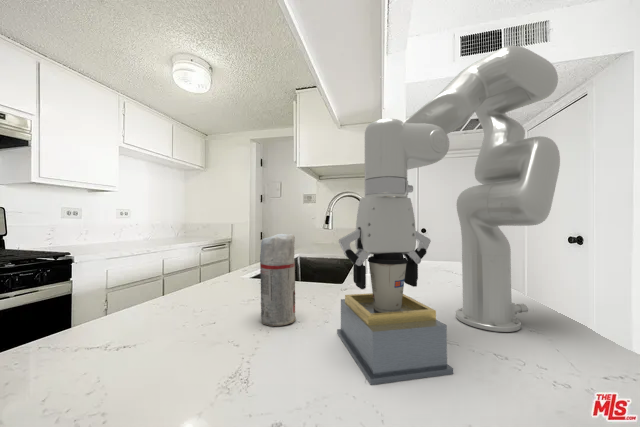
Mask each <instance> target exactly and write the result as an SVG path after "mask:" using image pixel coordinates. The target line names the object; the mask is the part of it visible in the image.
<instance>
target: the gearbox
mask: <svg viewBox="0 0 640 427" xmlns="http://www.w3.org/2000/svg"><path fill="white" fill-rule="evenodd" d="M447 330H448V329H447V324H445V323H443V322H441V321H440V320H438V319H437V310H435V309H434V308H432V307H429V306H428V305H425V303H422V302H420V301H418V300H416V299H414V298H412V297H410V296H408V295H406V294H404V293H403V297H402V305H401V311H399V312H385V313H382V312H378V311H376V310H375V308H374V300H373V292H371V293H356V294H355V293H353V294H344V298H343V299H340V328H339V329H336V333H337V335H338V337H339V338H340V340H341V341H342V343H343V345H344V346H345V348H346V349H347V351H348V352H349V354H350V356H351V357H352V359H353V360H354V362H355V363H356V364H357V366H358V368H359V369H360V371H361V372H362V374H363V376H364V377H365V378H366V380H367V382H369V384H370V386H375V385H381V384H389V383H396V382H405V381H411V380H419V379H425V378H426V379H427V378H434V377H440V376H441V377H442V376H448V375H453V374H454V368H453V367H452V366H451V365H449V363H448V357H447V356H448V348H447V347H448V346H447V345H448V342H447V341H448V340H447V339H448V338H447V337H448V336H447V335H448V334H447V332H448V331H447Z"/></svg>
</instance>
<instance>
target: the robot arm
mask: <svg viewBox="0 0 640 427" xmlns="http://www.w3.org/2000/svg"><path fill="white" fill-rule="evenodd" d="M558 76H559V75H558V71H557V69H556V67H555V66H554V64H552V63H551V62H550V61H549V60H548V59H547V58H544V57H543V56H541V55H540V54H537V53H535V52H534V51H532V50H530V49H528V48H525V47H522V46H519V45H505V46H503V47H501V48H499V49H497V50H495V51H494V52H492V53H490V54H488V55H487V56H484V57H483V58H481V59H479V60H477V61H476V62H474V63H472V64H469V65H468V66H467V67H465V68H464V69H462V71H460V72H459V73H458V74H457V75H456V76H455V77H454V78H453V79H452V80H451V81H450V82H449V83H448V84H447V85H446V86H445V87H444V88H443V89H442V90H441V91H440V92H439V93H438V94H437V95H436V96H434V98H432V99H431V100H429V101H428V102H427V103H425V104H424V105H423V106H421V107H420V108H419V109H418V110H417V111H415V112H414V113H412V115H410V116H409V117H407V118H406V119H405V120H403V121H402V120H400V119H398V118H380V119H376V120H373V121H372V122H370V123H369V124H368V125H367V126H366V128H365V130H364V197H361V198H359V202H358V208H357V214H356V221H355V230H354V231H352V232H350V233H348V234H347V235H344V236H343V237H340V239H339V240H338V244H339V246H340V248H341V250H342V251H343V254H344V255H345V256H346V258H347V259H348V260H349V261H350V262H351V263H352V264H353V266H352V269H353V276H352V277H353V283H354V284H355V286H356V287H357V288H359V289H360V290H365V289H366V286H367V273H366V272H367V271H366V270H367V268H366V265H364V263H365V261H366V259H367V258H369V257H370V256H371V255H373V254H403V257H404V258H406V259H407V262H408V263H406V271H405V280H404V284H406V285H409V286H411V287H413V288H414V287H415V288H416V287H418V280H419V264H421V262H422V260H423V258H424V257H425V256H426V254H427V250H428V248H429V246H430V244H431V238H429V237H427V236H425V235H424V234H422V233H420V232H419V231H417V230H416V221H415V220H416V219H415V213H414V207H413V203H412V199H411V198H410V197H409V193H413V192H414V186H413V185H412V184H411V185H410V184H409V181H408V171H409V170H412V169H418V168H422V167H426V166H430V165H433V164H436V163H438V162H440V161H441V160H443V159H444V157H446V155H447V154H448V152H449V149H450V138H449V136H448V134H451V133H452V132H454V131H455V130H457V129H459V128H460V127H462V126H464V124H466V123H467V122H469V120H470V119H471V117H472V116H473V115H474V113H475V115H476V116H477V117H476V118H477V119H478V121H479V123H480V125H481V128H482V130H483V140H482V142H481V146H480V149H479V153H478V155H477V159H476V161H475V162H476V163H475V167H474V178H475V180H476V181H477V182H478V183H479V185H474V186H471V187H469V188H468V187H467V188H466V189H464V190H463V191H461V192H460V193H459V195H458V196H457V199H456V211H457V212H456V213H457V216H458V220H459V226H460V233H461V234H460V235H461V261H462V262H461V270H462V272H461V273H462V275H461V276H462V278H461V279H462V308H458V309H457V310H456V311H455V317H456V319H457V320H459V321H460V322H461V323H464V324H466V325H468V326H471V327H473V328H477V329H480V330H485V331H492V332H501V333H509V332H510V333H512V332H517V331H519V330H521V328H522V323H521V320H520V319H518V318H517V317H516V315H517V314H519V313H520V314H522V313H523V314H524V313H528V312H529V308H528V305H527V304H525V303H514V302H512V267H511V266H512V265H511V264H512V263H511V261H512V259H511V255H512V254H511V253H512V252H511V244H510V241H509V239H508V238H507V237H506V235H505V233H504V232H503V231H502V230H501V228H500V227H501V226H503V227H505V226H509V227H510V226H512V227H513V226H514V227H515V226H516V227H522V226H526V227H529V226H536V225H537V226H538V225H541V224H543V222H545V221H546V220H547V219H548V217H549V215H550V212H551V209H552V205H553V202H554V201H553V200H554V196H555V191H556V186H557V183H558V182H557V181H558V178H559V172H560V166H561V156H560V150H559V147H558V145H557V143H556V142H555V141H554V140H553V139H551V138H550V137H548V136H541V135H540V136H532V137H528V138H525V137H526V131H525V129H524V127H523V125H522V124H521V123H519V121H517V120H516V119H514V118H512V117H509V116H508V114H507V113H509V112H512V111H514V110H515V111H516V110H517V109H520V108H523V107H525V106H530V105H532V104H536V103H538V102H540V101H543V100H545V99H547V98H549V97H550V96H551V95H552V94H554V92H555V90H556V89H557V86H558V82H559V77H558ZM352 242H354V244H355V246H354V247H355V249H356V252H354V251H353V249H352V248H351V245H350V244H351V243H352ZM416 242H418V246H417V248H416V245H417V243H416ZM367 260H368V259H367Z"/></svg>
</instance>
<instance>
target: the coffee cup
mask: <svg viewBox="0 0 640 427" xmlns="http://www.w3.org/2000/svg"><path fill="white" fill-rule="evenodd" d="M372 255H373V256H371V255H370V256H368V257H367V258H368V259H367V262H368V265H369V266H368V267H369V274H370V282H371V283H370V284H371V291H372V292H371V293H373V300H374V308H375V310H376V311H378V312H382V313H385V312H399V311H401V305H402V297H403V294H404V287H405V282H404V280H405V271H406V263H408V262H407V259H406V258H405V257H404V255H403V254H372Z"/></svg>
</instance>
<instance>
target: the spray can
mask: <svg viewBox="0 0 640 427" xmlns="http://www.w3.org/2000/svg"><path fill="white" fill-rule="evenodd" d="M295 240H296V238H295V234H293V233H289V234H286V233H277V234H275V235H271V236H269V237H264V238H262V240H261V243H260V254H259V263H260V264H259V265H260V266H259V267H260V272H259V273H260V318H261V323H262V324H263V325H265V326H269V327H279V326H285V325H289V324H293V323H295V321H296V319H297V317H296V273H295V272H296V271H295V270H296V265H295V262H296V261H295V242H296V241H295Z"/></svg>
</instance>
